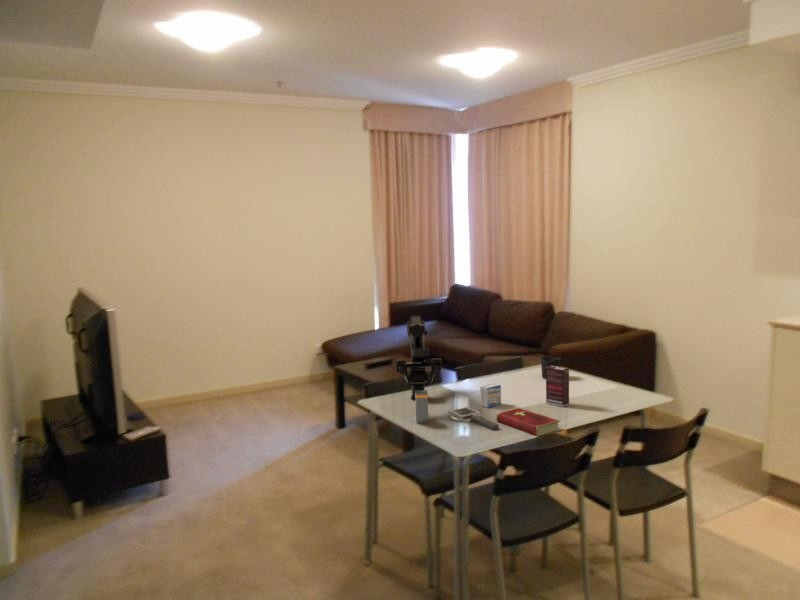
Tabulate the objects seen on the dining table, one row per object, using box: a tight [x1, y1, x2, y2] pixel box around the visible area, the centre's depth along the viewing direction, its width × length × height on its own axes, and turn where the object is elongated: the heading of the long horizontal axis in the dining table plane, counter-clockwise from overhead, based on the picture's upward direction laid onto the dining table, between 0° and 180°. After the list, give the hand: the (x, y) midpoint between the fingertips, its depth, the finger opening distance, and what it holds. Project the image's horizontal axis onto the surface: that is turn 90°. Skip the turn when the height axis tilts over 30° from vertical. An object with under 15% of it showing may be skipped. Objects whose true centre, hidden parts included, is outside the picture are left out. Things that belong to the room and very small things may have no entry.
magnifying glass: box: [447, 406, 500, 431], centre depth 237 cm, size 25×12×2 cm, turn 31°
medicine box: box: [479, 383, 502, 409], centre depth 257 cm, size 8×4×9 cm, turn 123°
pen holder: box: [540, 355, 562, 380], centre depth 299 cm, size 9×9×10 cm
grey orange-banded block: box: [414, 389, 429, 424], centre depth 238 cm, size 5×5×12 cm
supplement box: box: [545, 366, 570, 408], centre depth 255 cm, size 9×5×16 cm, turn 44°
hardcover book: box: [496, 407, 561, 437], centre depth 230 cm, size 12×21×4 cm, turn 34°
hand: (419, 383), depth 245 cm, fingers open, 9 cm apart
